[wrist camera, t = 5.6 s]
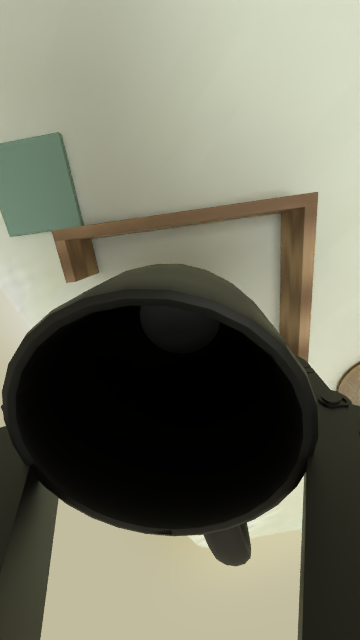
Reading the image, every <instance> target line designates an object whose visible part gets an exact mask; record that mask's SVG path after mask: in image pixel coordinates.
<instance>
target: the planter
mask: <svg viewBox="0 0 360 640" xmlns="http://www.w3.org/2000/svg"><path fill="white" fill-rule="evenodd" d="M338 392H339V393H341V394H343V395H345V396H346V397H347V398H349V399H350V400H351V402H352V404H354V405H358V406H360V364H359V365H358V366H356V367H355V368H353V369H352V370H351V371H350V372H349V373H348V374H347V375H346V376H345V377H344V379H343V380H342V382H341V384H340V386H339V389H338Z"/></svg>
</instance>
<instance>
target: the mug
mask: <svg viewBox="0 0 360 640" xmlns="http://www.w3.org/2000/svg"><path fill="white" fill-rule="evenodd" d="M2 398H3V415H4V421H5V424H6V427H7V430H8V433H9V436H10V439H11V442H12V445H13V446H14V448H15V449H16V451H17V453H18V454H19V456H20V458H21V459H22V461H23V462H24V464H27V465H31V468H32V470H33V472H34V474H35V475H36V477H37V479H38V480H39V481H40V482H41V483H42V485H43V486H44V487H45V488H47V489H48V490H49V491H50V492H52V493H53V494H54V495H56V496H57V497H58V498H60V499H61V500H62V501H64V502H65V503H66V504H68V505H69V506H71V507H73V508H75V509H77V510H79V511H80V512H82V513H84V514H86V515H88V516H90V517H92V518H94V519H97V520H99V521H102V522H105V523H107V524H110V525H113V526H115V527H118V528H123V529H127V530H132V531H136V532H140V533H145V534H155V535H166V536H186V535H202V534H203V535H204V537H205V539H206V542H207V544H208V546H209V548H210V550H211V551H212V553H213V554H214V556H215V558H216V559H217V560H219V561H220V562H222V563H224V564H226V565H231V566H239V565H242V564H245V563H246V562H247V561H248V560H249V559H250V556H251V544H250V538H249V532H248V527H247V522H249V521H251V520H254V519H256V518H257V517H259V516H261V515H262V514H264V513H265V512H267V511H269V510H270V509H272V508H274V507H275V506H277V505H278V504H279V503H280V502H281V501H282V500H283V499H284V498H285V497H286V496H287V495H289V494H290V493H291V492H292V491H293V490H294V489H295V488H296V487H297V485H298V484H299V482H300V481H301V479H302V477H303V476H304V474H305V472H306V468H307V457H310V456H312V455H314V451H315V447H316V444H317V440H318V409H317V401H316V398H315V396H314V393H313V390H312V387H311V384H310V381H309V378H308V376H307V373H306V370H305V369H304V367H303V366H302V365H301V363H300V362H299V360H298V359H297V358H296V356H295V355H294V353H293V352H292V351H291V349H290V348H289V346H288V345H287V344H286V342H285V341H284V340H283V338H282V337H281V336H280V334H279V333H278V332H277V330H276V329H275V328H274V327H273V325H272V324H271V323H270V321H269V320H268V319H267V318H266V316H265V315H264V314H263V312H262V311H261V310H260V309H259V308H258V306H257V305H256V304H255V303H254V302H253V301H252V300H251V299H250V298H249V297H247V296H246V295H245V294H244V293H243V292H242V291H240V290H239V289H238V288H237V287H236V286H234V285H233V284H232V283H230V282H228V281H227V280H225V279H223V278H221V277H219V276H217V275H215V274H213V273H211V272H209V271H207V270H204V269H200V268H196V267H192V266H187V265H183V264H156V265H150V266H146V267H141V268H137V269H133V270H128V271H125V272H123V273H121V274H119V275H117V276H115V277H113V278H111V279H109V280H107V281H105V282H103V283H101V284H99V285H97V286H95V287H93V288H92V289H90V290H88V291H86V292H84V293H82V294H81V295H79V296H77V297H75V298H73V299H72V300H70V301H68V302H66V303H64V304H63V305H61V306H59V307H57V308H55V309H54V310H52V311H51V312H50V313H49V314H47V315H46V316H45V317H44V318H43V319H42V320H41V321H40V322H39V323H38V324H36V325H35V326H34V327H33V328H32V329H31V330H30V331H29V332H28V333H27V334H26V336H25V337H24V339H23V341H22V342H21V344H20V346H19V347H18V349H17V351H16V352H15V354H14V356H13V357H12V359H11V361H10V362H9V364H8V368H7V372H6V377H5V381H4V385H3V390H2Z"/></svg>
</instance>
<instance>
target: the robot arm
mask: <svg viewBox="0 0 360 640" xmlns="http://www.w3.org/2000/svg"><path fill="white" fill-rule="evenodd" d="M295 356H296V358H297V359H298V360H299V362H300V363H301V365H302V366H303V367H304V369H305V370H306V373H307V376H308V378H309V381H310V384H311V387H312V390H313V393H314V396H315V398H316V401H317V409H318V440H317V444H316V447H315V451H314V455H312V456H310V457H307V468H306V472H305V474H304V494H303V520H302V546H301V571H300V573H301V574H300V596H299V621H298V640H360V406H358V405H354V404H352V402H351V400H350V399H349V398H347V397H346V396H345V395H343V394H341V393H339V392H336V391H332V390H330V389H329V388H328V387H327V385H326V384H325V383H324V382H323V381H322V379H321V378H320V377H319V376H318V375H317V373H315V371H314V370H313V369H312V368H311V366H310V365H309V364H308V363H307V361H306V360H304V359H303V358H301V357H299V356H297V355H295ZM1 408H2V411H3V405H2V406H1ZM57 505H58V497H57V496H56V495H54V494H53V493H52V492H50V491H49V490H48V489H47V488H45V487H44V486H43V485H42V483H41V482H40V481H39V480H38V479H37V477H36V475H35V474H34V472H33V470H32V468H31V465H27V464H24V462H23V461H22V459H21V458H20V456H19V454H18V453H17V451H16V449H15V448H14V446H13V445H12V442H11V439H10V436H9V433H8V430H7V427H6V426H5V427H1V428H0V640H40V637H41V629H42V621H43V614H44V606H45V598H46V591H47V583H48V575H49V567H50V559H51V551H52V544H53V536H54V528H55V520H56V513H57Z"/></svg>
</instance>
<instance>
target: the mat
mask: <svg viewBox="0 0 360 640" xmlns="http://www.w3.org/2000/svg"><path fill="white" fill-rule="evenodd" d="M0 210H1V213H2V215H3V218H4V221H5V224H6V227H7V230H8V233H9V236H19V235H26V234H33V233H40V232H47V231H52V230H59V229H66V228H73V227H80V226H83V222H82V218H81V214H80V210H79V205H78V201H77V197H76V193H75V189H74V185H73V181H72V177H71V173H70V168H69V164H68V160H67V156H66V152H65V148H64V144H63V140H62V136H61V134H60V133H53V134H47V135H42V136H37V137H32V138H27V139H21V140H16V141H11V142H6V143H0Z"/></svg>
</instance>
